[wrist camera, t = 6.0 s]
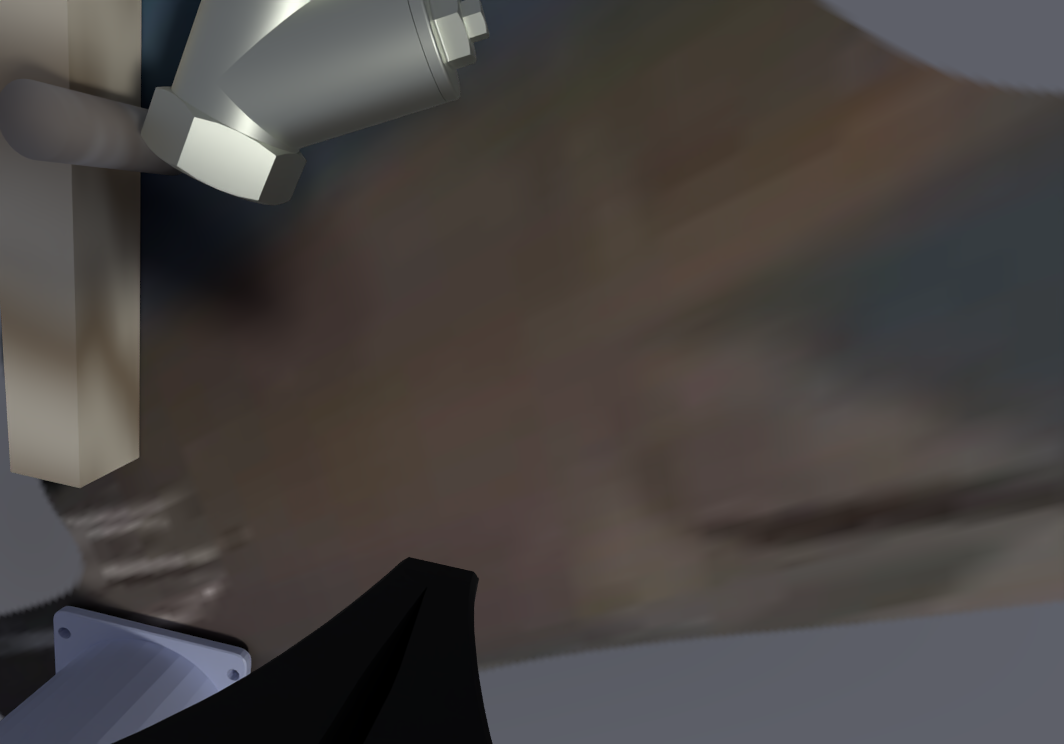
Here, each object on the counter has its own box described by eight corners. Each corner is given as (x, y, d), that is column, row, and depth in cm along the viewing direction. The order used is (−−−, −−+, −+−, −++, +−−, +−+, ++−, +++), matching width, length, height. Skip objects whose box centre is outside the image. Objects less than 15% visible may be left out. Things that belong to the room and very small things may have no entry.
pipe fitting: (515, 14, 17) (301, -121, 16) (503, -40, 13) (223, -220, 12) (395, 257, 19) (203, 148, 18) (355, 272, 15) (111, 135, 14)
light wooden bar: (185, 468, 21) (77, 532, 16) (77, 443, 21) (-57, 500, 17) (207, -292, 15) (49, -502, 11) (56, -316, 15) (-159, -532, 11)
